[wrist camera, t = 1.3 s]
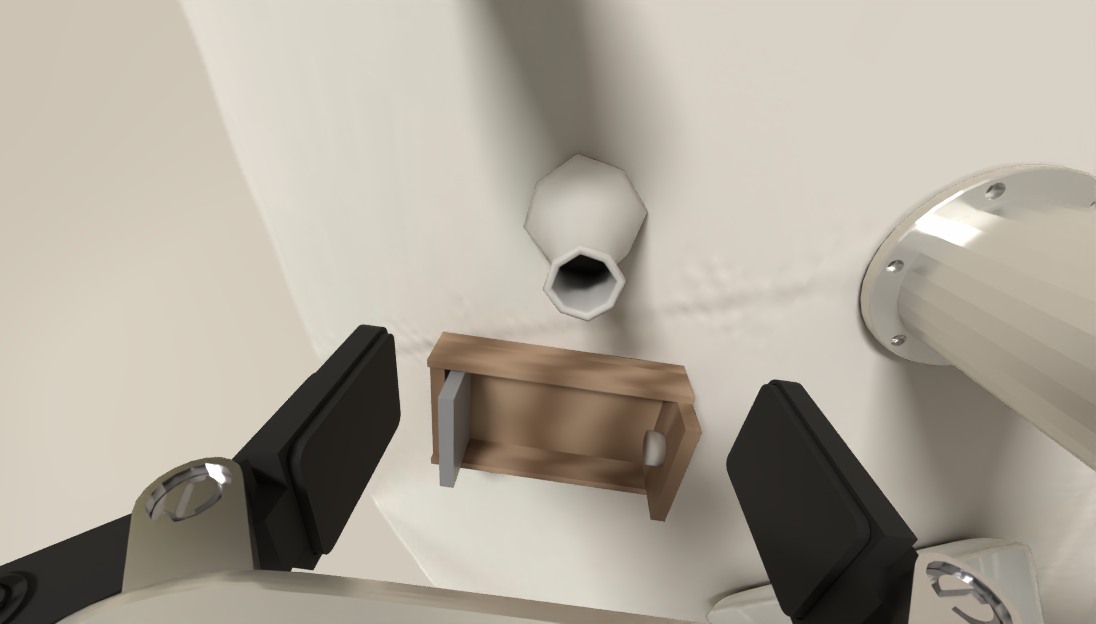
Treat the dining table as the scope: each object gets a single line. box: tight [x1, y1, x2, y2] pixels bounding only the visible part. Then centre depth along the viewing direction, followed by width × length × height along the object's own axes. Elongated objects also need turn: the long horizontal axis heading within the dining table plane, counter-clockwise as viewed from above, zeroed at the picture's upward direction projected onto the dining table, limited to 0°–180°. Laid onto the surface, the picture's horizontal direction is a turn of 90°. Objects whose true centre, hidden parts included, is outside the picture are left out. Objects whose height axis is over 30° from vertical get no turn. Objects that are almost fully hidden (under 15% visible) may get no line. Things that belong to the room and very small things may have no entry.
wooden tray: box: [427, 332, 702, 522], centre depth 30 cm, size 18×10×6 cm, turn 83°
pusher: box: [438, 370, 471, 488], centre depth 29 cm, size 1×8×5 cm, turn 174°
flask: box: [524, 154, 648, 321], centre depth 21 cm, size 7×7×10 cm
